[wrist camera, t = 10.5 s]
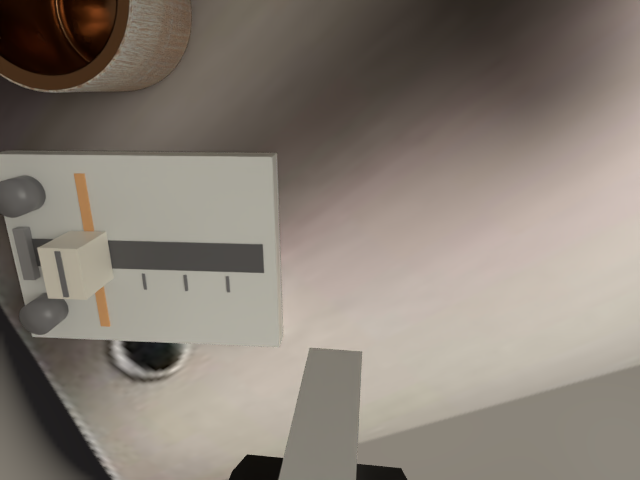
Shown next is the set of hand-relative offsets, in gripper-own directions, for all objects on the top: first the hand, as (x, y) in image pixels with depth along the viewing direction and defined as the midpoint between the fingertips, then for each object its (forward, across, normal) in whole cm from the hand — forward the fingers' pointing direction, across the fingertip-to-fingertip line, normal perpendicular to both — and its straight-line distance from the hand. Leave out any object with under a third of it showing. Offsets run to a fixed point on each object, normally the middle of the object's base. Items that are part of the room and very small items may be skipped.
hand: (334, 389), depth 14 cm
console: (+24, -17, -6) cm, 30 cm away
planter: (+24, -18, +12) cm, 33 cm away
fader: (+21, -21, -6) cm, 31 cm away
